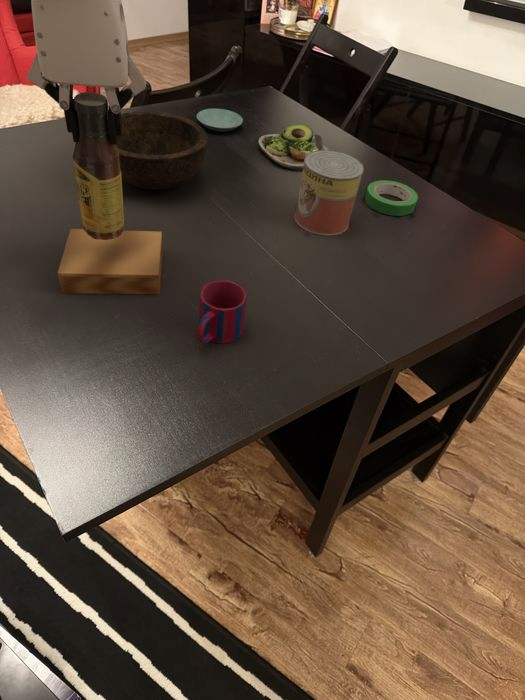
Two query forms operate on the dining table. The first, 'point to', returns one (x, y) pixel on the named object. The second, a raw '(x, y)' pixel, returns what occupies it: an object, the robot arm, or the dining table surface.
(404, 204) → the tape roll
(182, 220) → the dining table surface
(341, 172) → the canned food
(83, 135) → the sauce bottle
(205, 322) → the mug
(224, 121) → the saucer
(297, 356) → the dining table surface
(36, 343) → the dining table surface
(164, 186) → the bowl
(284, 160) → the avocado toast plate
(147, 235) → the oak stand
